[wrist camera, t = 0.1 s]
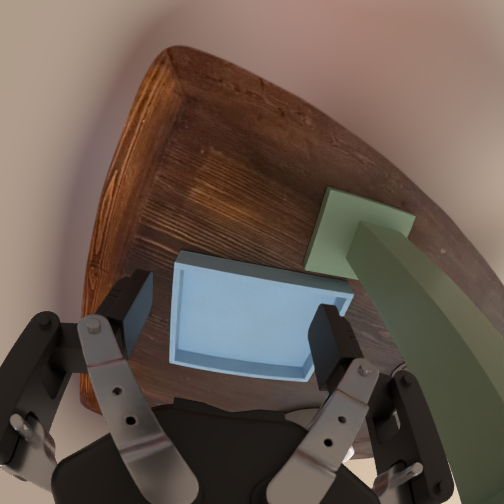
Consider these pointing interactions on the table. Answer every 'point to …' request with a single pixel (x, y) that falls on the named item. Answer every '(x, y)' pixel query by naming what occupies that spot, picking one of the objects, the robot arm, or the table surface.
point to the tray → (247, 316)
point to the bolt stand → (424, 332)
